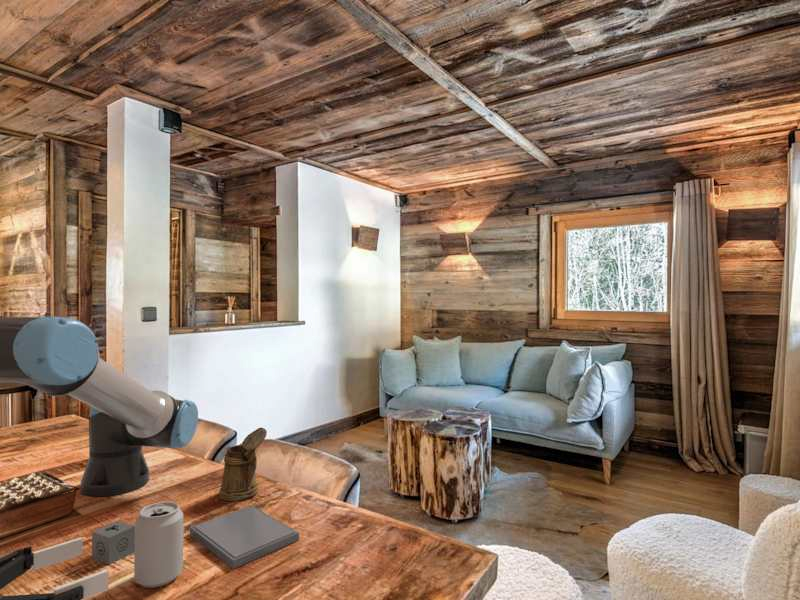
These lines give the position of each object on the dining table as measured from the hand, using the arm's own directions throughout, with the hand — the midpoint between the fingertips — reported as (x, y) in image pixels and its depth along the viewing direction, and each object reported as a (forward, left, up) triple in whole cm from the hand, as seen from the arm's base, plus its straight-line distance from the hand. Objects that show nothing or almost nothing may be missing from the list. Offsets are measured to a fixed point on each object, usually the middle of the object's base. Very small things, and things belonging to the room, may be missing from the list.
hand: (94, 561), depth 74 cm
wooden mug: (-20, +37, -7) cm, 42 cm away
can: (0, +10, -7) cm, 12 cm away
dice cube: (-14, +7, -7) cm, 17 cm away
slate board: (-2, +27, -7) cm, 28 cm away
